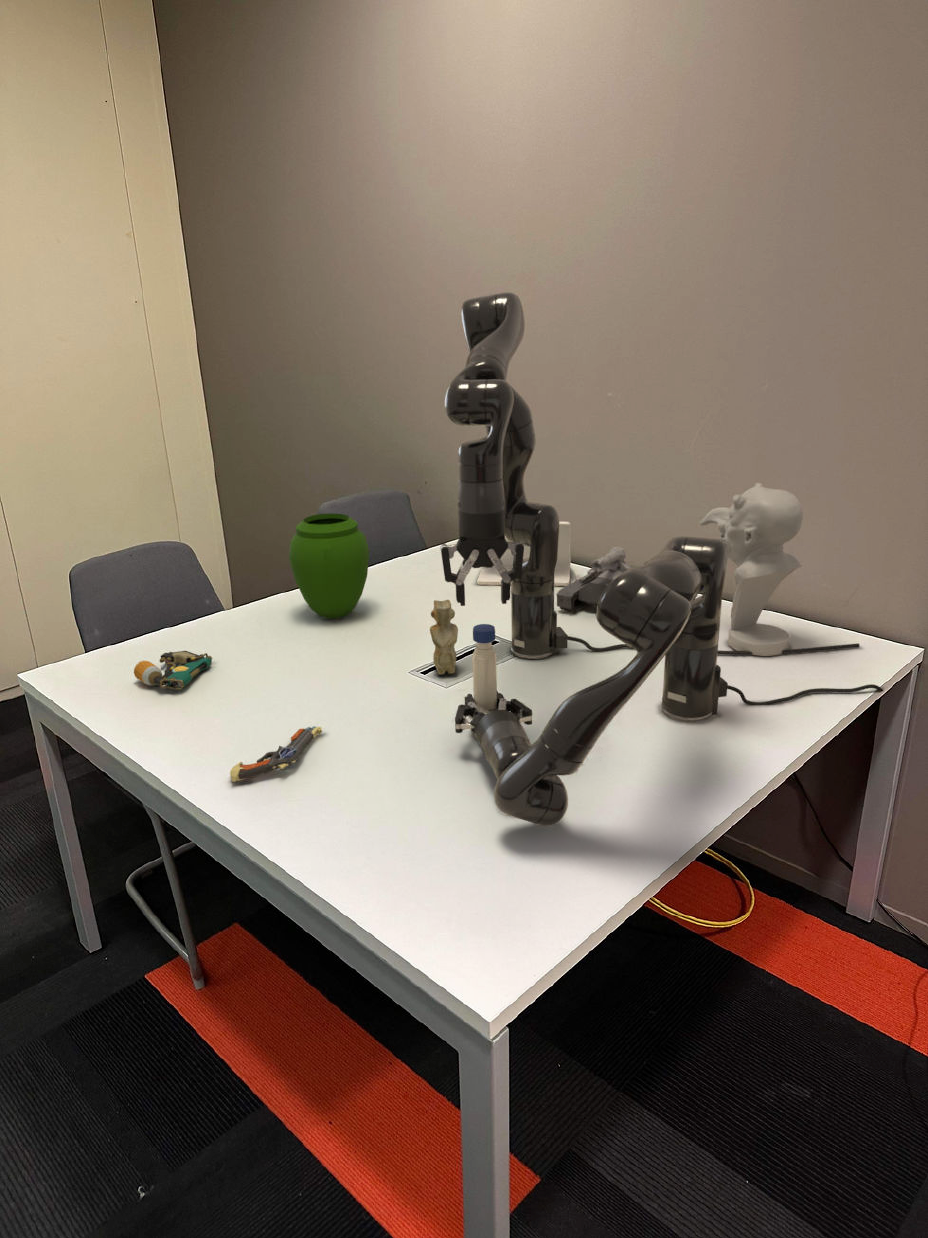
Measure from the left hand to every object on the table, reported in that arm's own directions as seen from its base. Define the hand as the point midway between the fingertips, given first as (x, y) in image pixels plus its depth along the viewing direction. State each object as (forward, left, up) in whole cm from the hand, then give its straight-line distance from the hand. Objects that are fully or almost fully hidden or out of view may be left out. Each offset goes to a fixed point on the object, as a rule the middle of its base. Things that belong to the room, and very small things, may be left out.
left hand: (483, 603), depth 144 cm
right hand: (0, -3, -19) cm, 19 cm away
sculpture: (+2, -29, -25) cm, 39 cm away
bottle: (0, 0, -25) cm, 25 cm away
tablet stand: (-31, -88, -25) cm, 96 cm away
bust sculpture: (-64, -28, -25) cm, 74 cm away
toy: (-47, -58, -25) cm, 78 cm away
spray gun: (+58, -41, -25) cm, 75 cm away
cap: (0, 0, -5) cm, 5 cm away
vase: (+23, -71, -25) cm, 78 cm away
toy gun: (+37, -1, -25) cm, 44 cm away
